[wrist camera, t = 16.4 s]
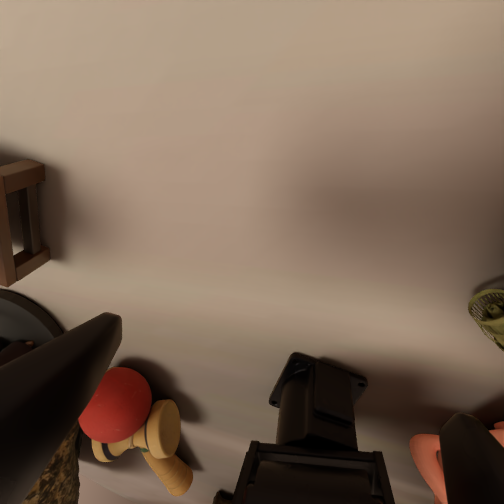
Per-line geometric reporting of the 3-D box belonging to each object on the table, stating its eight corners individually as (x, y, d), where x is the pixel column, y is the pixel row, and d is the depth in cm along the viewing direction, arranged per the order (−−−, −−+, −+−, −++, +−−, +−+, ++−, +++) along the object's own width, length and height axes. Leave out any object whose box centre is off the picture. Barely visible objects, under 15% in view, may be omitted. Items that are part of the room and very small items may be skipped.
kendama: (224, 454, 36) (154, 358, 27) (201, 522, 32) (106, 435, 22) (170, 441, 39) (91, 350, 30) (142, 500, 35) (37, 416, 25)
